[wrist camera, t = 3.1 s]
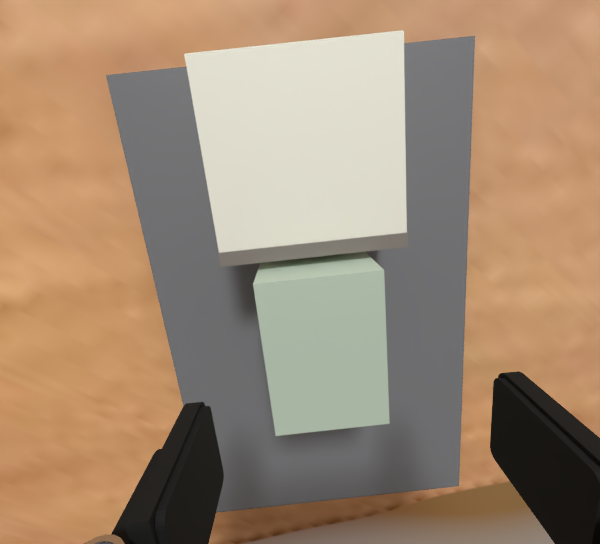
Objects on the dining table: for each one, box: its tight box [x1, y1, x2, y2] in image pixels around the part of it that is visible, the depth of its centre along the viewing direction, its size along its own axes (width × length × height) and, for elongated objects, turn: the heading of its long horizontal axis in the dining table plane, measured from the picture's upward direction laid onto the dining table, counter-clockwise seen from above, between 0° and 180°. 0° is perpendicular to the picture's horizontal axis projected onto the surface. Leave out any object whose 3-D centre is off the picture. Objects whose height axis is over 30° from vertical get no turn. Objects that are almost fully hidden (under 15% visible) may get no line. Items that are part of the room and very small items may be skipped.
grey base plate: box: [106, 30, 475, 512], centre depth 18 cm, size 28×18×6 cm, turn 6°
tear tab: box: [253, 252, 390, 436], centre depth 16 cm, size 7×5×6 cm
